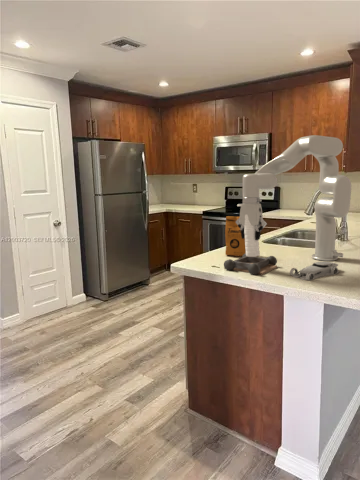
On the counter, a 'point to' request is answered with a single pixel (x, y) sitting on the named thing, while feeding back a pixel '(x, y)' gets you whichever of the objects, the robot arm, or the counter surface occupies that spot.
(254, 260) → the chassis
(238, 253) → the coffee package
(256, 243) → the water bottle
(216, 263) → the counter surface
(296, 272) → the car model
